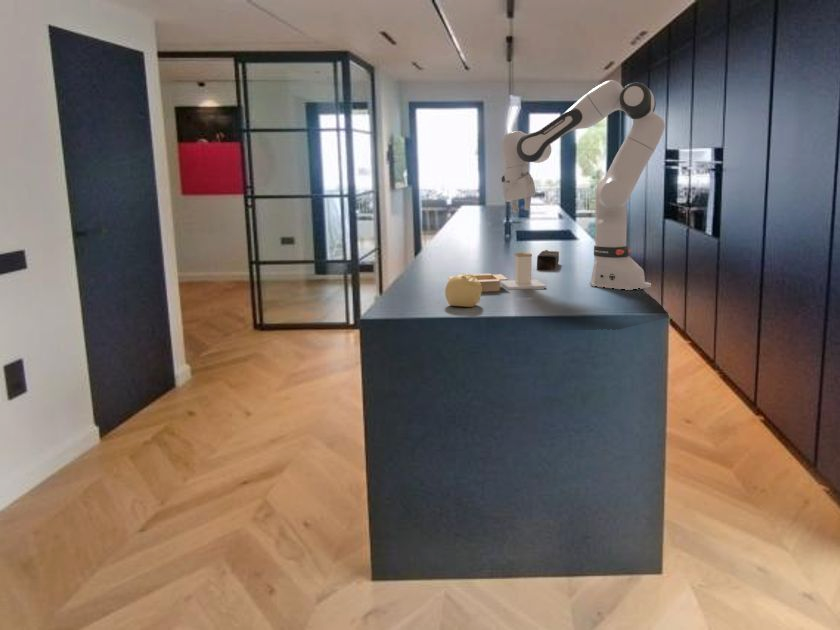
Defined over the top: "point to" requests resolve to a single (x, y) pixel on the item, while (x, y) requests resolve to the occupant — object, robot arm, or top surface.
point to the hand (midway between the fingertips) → (521, 211)
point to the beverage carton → (547, 260)
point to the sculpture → (463, 290)
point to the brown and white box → (523, 268)
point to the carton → (488, 281)
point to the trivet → (523, 285)
